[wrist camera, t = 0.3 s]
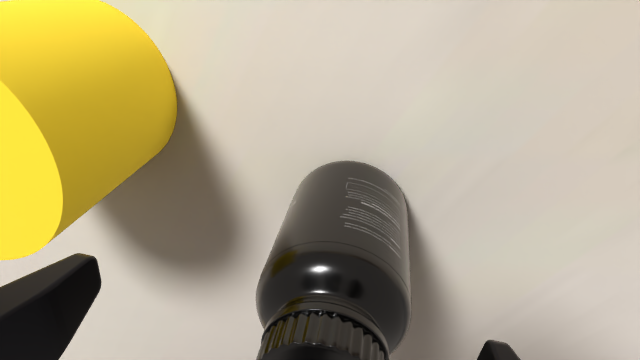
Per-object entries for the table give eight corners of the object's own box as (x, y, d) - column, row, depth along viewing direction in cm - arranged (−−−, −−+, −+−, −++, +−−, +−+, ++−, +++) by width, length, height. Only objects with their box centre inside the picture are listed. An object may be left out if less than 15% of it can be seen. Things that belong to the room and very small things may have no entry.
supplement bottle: (274, 182, 25) (187, 342, 15) (377, 138, 23) (362, 292, 12) (327, 266, 27) (284, 455, 17) (425, 234, 25) (447, 431, 15)
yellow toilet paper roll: (-21, 33, 24) (-244, 73, 15) (114, -37, 21) (-73, -35, 12) (80, 182, 27) (-54, 277, 19) (207, 141, 24) (111, 233, 16)
